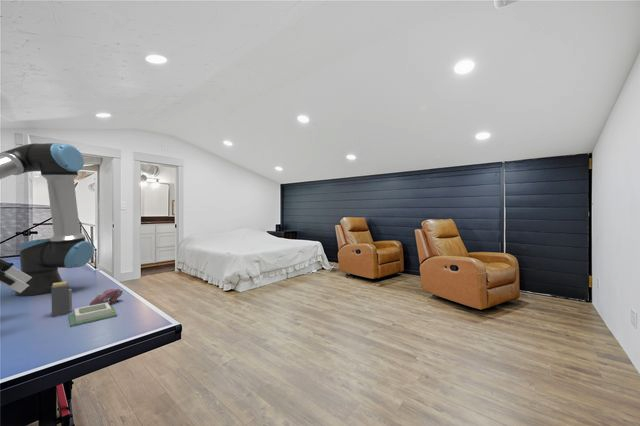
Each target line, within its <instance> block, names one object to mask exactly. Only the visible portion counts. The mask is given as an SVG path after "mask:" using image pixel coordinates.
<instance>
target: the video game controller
mask: <svg viewBox="0 0 640 426" xmlns="http://www.w3.org/2000/svg"><path fill="white" fill-rule="evenodd" d="M123 293H124V291H123V290H121V289H119V288H110V289H107V290H105V291H103V292H100V293H99V294H98V295H96V296H95V298H94V299H93V300H91V302H90V303H89V306H92V305H97V304H102V303H107V302H108V303H111V304H114V303H115V302H116V300H117V299H119V298H120V297H121V296H122V295H123Z"/></svg>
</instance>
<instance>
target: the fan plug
mask: <svg viewBox="0 0 640 426" xmlns="http://www.w3.org/2000/svg"><path fill="white" fill-rule="evenodd" d="M72 292H73V290H72V288H69V282H67V280H65V281H63V282H58V283H53V285H51V292H50V293H51V297H50V298H51V318H53V317H58V316H64V315H69V314H70V311H71V310H73V296H72V295H73V294H72Z"/></svg>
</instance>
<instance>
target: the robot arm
mask: <svg viewBox="0 0 640 426" xmlns="http://www.w3.org/2000/svg"><path fill="white" fill-rule="evenodd" d="M84 164H85V161H84V156H83V155H82V152H80V150H78V149H77V147H75V146H73V145H72V144H68V143H60V142H58V143H57V142H55V143H54V142H53V143H51V142H50V143H46V142H45V143H38V142H37V143H29V144H24V145H20V146H17V147H14V148H10V149H8V150H5V151H1V152H0V180H2V179H5V178H7V177H10V176H19V175H22V174H26V173H31V172H40V175H41V177H43V178H44V179H45V180H46V183H47V191H48V199H49V207H50V215H51V222H52V231H53V236H52V237H51V238H44V239H43V238H42V239H35V240H28V241H27V240H26V241H22V243H20V247H19V249H20V250H19V260H20V261H19V262H20V269H18V268H16V267H15V264H14V263H13V262H9V261H8V262H7V261H6V260H3V259H1V258H0V284H2V285H4V286H6V287H8V288H10V289H12V290H13V291H15V295H16V296H19V297H28V296H36V295H37V296H38V295H43V294H48V293H49V294H50V293H51V285H53V283H58V282H64V281H63V279H62V277H61V275H60V273H59V268H60V269H61V268H62V269H63V268H64V269H74V268H81V267H84V266H86V265H87V264H88V263H89V262H90V260H91V259H92V258H93V255H94V246H93V244H91V242H90V241H87V240H86V236H85V234H83V233H82V232H81V229H80V220H79V212H78V210H79V209H78V204H77V202H78V201H77V196H76V185H75V179H76V178H77V177H78V176H79V171H80V170H82V169H83V167H84Z"/></svg>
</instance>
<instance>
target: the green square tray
mask: <svg viewBox="0 0 640 426" xmlns="http://www.w3.org/2000/svg"><path fill="white" fill-rule="evenodd" d="M73 310H74V312H72V313H69V314H68V319H69V320H68V321H69V326H70V328H71V327H76V326H79V325H80V326H81V325H84V324H85V325H86V324H89V323H93V322H97V321H103V320H107V319H112V318H115V317H116V318H117V317H118V313H117V312H116V310H115V308H114V307H113V305H110V304H109V301H108V302H107V303H102V304H97V305H92V306H90V305H87V306H86V305H85V306H82V307H76V308H74V309H73Z"/></svg>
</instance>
